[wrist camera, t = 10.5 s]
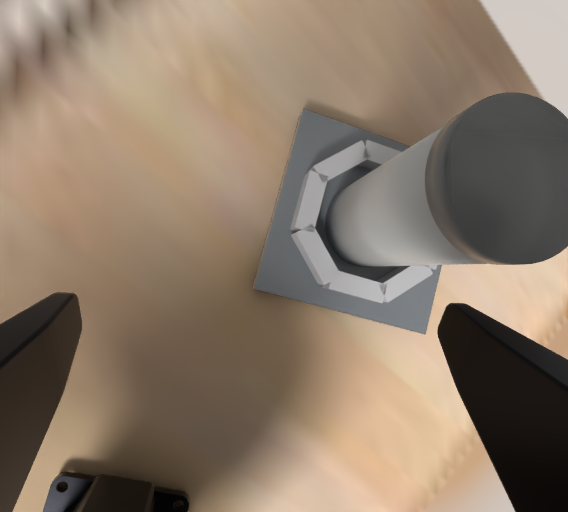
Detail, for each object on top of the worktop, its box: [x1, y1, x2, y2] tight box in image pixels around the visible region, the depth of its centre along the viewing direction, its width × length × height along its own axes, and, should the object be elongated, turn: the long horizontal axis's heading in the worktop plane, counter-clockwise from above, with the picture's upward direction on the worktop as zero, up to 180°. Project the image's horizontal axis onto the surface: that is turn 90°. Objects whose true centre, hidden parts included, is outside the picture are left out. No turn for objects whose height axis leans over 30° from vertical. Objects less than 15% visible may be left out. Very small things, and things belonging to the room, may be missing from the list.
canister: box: [325, 93, 568, 267], centre depth 16 cm, size 5×5×11 cm
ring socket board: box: [253, 109, 442, 334], centre depth 21 cm, size 10×10×2 cm
